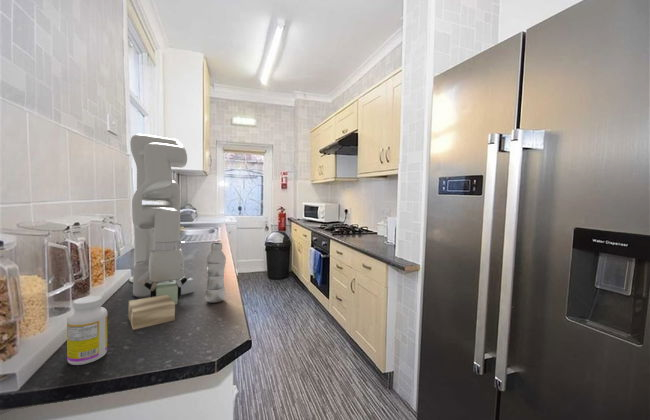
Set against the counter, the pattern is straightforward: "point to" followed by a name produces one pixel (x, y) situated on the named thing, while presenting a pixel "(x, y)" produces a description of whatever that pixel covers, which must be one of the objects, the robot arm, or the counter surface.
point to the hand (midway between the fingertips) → (165, 299)
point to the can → (138, 272)
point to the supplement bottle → (86, 331)
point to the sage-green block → (168, 290)
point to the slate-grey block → (186, 286)
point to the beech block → (151, 311)
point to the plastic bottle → (215, 274)
